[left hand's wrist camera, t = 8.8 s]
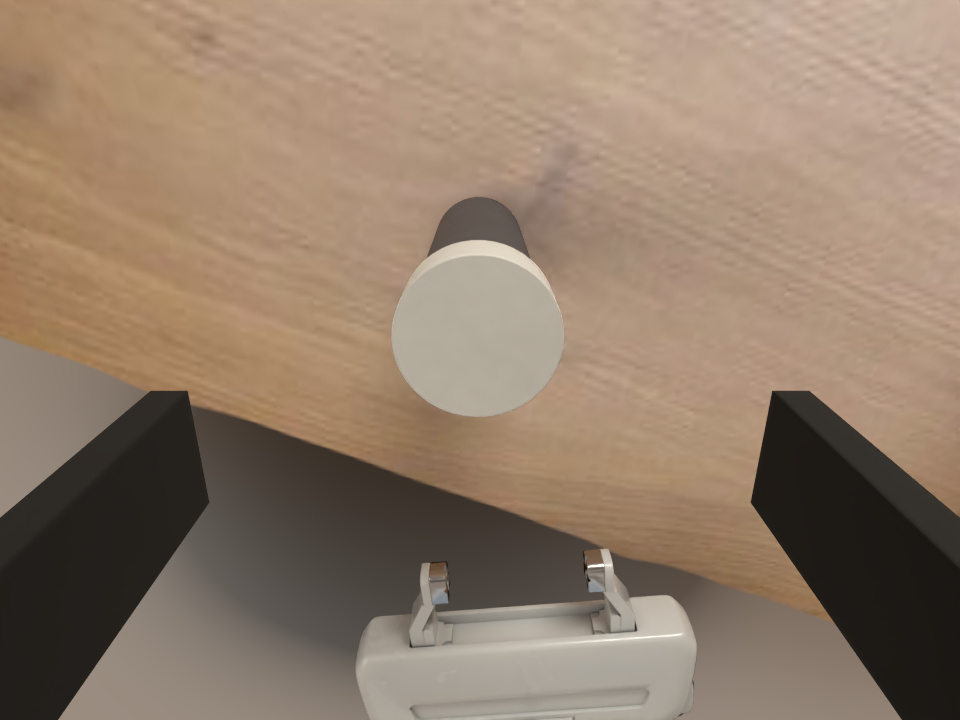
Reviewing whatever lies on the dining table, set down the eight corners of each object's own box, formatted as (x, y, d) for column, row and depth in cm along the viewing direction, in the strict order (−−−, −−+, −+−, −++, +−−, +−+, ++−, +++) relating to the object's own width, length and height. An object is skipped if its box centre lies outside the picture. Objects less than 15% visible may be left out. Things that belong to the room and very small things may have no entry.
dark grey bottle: (531, 266, 35) (569, 377, 20) (453, 292, 36) (434, 419, 21) (505, 184, 34) (526, 241, 19) (423, 213, 34) (380, 291, 19)
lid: (574, 362, 22) (584, 389, 20) (432, 407, 23) (427, 437, 21) (529, 217, 20) (535, 229, 18) (375, 270, 21) (364, 288, 19)
